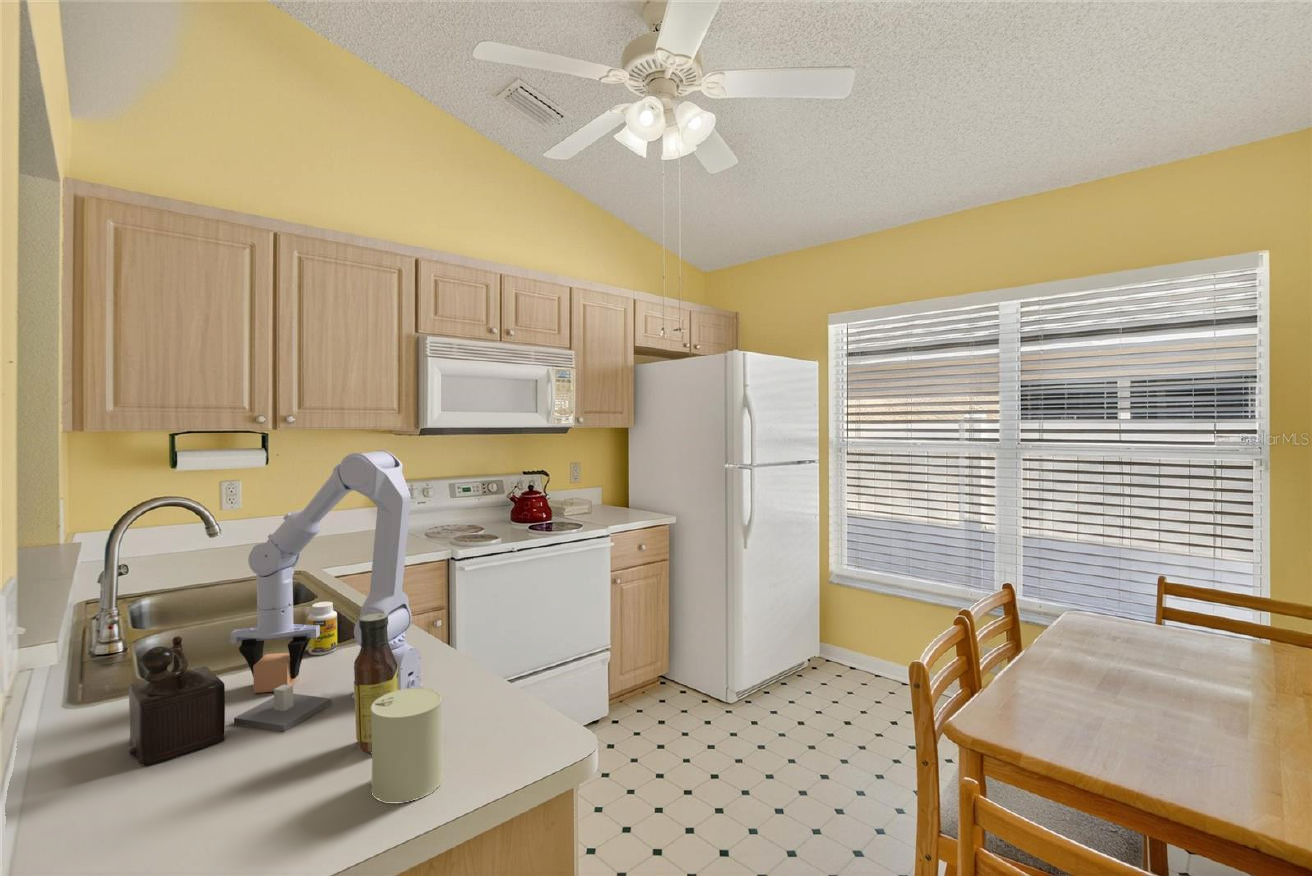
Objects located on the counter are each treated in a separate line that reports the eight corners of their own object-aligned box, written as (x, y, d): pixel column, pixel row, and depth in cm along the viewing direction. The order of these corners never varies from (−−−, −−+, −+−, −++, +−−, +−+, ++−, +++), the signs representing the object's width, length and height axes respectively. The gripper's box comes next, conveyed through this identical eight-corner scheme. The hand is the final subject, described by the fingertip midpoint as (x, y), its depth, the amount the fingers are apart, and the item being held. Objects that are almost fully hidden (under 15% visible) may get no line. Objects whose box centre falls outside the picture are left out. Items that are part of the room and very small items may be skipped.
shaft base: (330, 704, 112) (330, 678, 112) (284, 731, 102) (283, 704, 102) (283, 697, 114) (283, 672, 114) (234, 723, 104) (233, 696, 104)
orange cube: (298, 678, 122) (298, 652, 122) (287, 690, 117) (287, 663, 116) (266, 680, 121) (266, 654, 121) (253, 692, 116) (253, 665, 115)
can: (384, 767, 92) (383, 685, 92) (449, 764, 93) (449, 683, 92) (360, 806, 83) (359, 715, 82) (433, 802, 84) (432, 712, 83)
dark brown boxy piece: (122, 745, 98) (119, 629, 97) (208, 719, 106) (205, 612, 105) (144, 784, 87) (141, 655, 87) (237, 753, 96) (235, 634, 95)
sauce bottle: (409, 740, 99) (407, 614, 99) (373, 759, 94) (371, 626, 93) (382, 730, 103) (380, 608, 102) (345, 747, 97) (344, 618, 97)
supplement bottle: (309, 658, 133) (308, 609, 132) (307, 649, 137) (306, 602, 137) (339, 652, 136) (338, 605, 135) (335, 644, 140) (335, 598, 140)
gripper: (324, 597, 124) (325, 666, 124) (242, 601, 121) (243, 672, 121) (311, 608, 117) (313, 681, 117) (224, 612, 114) (225, 687, 114)
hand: (276, 677), depth 119 cm, fingers closed on orange cube, 6 cm apart
